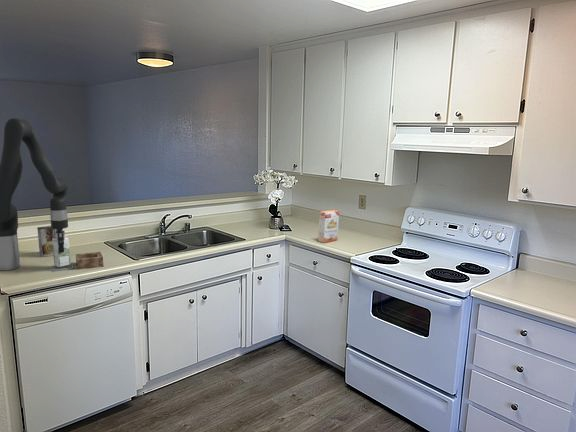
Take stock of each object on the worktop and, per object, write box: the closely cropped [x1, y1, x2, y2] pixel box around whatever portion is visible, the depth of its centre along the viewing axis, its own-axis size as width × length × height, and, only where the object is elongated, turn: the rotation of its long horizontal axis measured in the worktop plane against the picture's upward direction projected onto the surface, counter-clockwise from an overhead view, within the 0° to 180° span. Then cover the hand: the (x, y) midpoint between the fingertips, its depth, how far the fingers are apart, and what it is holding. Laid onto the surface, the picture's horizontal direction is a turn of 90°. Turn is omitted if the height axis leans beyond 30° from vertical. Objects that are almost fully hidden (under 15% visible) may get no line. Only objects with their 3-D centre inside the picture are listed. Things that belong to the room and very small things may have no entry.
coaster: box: [52, 263, 74, 273], centre depth 212 cm, size 9×9×1 cm
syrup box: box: [52, 235, 72, 267], centre depth 211 cm, size 6×6×14 cm
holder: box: [75, 251, 104, 270], centre depth 218 cm, size 12×12×5 cm
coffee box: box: [36, 225, 57, 258], centre depth 234 cm, size 9×6×16 cm
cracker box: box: [317, 209, 340, 244], centre depth 283 cm, size 14×6×21 cm, turn 131°
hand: (61, 250), depth 211 cm, fingers closed on syrup box, 7 cm apart
